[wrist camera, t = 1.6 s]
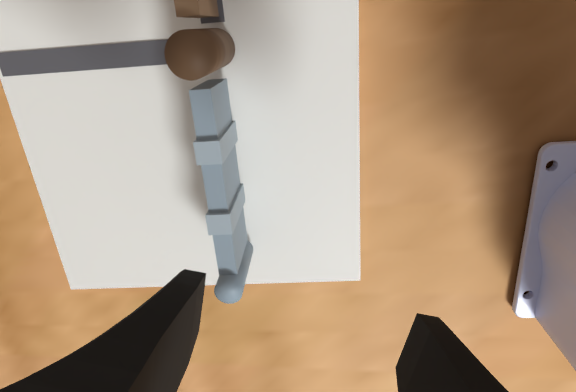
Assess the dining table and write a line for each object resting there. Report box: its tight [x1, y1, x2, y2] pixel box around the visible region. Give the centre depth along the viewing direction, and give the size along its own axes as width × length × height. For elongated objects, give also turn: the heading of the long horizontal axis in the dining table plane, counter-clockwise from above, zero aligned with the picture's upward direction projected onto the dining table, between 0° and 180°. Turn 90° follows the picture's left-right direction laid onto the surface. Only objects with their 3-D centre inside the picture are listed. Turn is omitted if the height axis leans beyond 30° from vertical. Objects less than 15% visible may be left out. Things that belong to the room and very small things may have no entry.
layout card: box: [0, 0, 360, 289], centre depth 18 cm, size 21×16×1 cm
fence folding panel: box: [189, 78, 253, 303], centre depth 18 cm, size 9×1×4 cm, turn 4°
